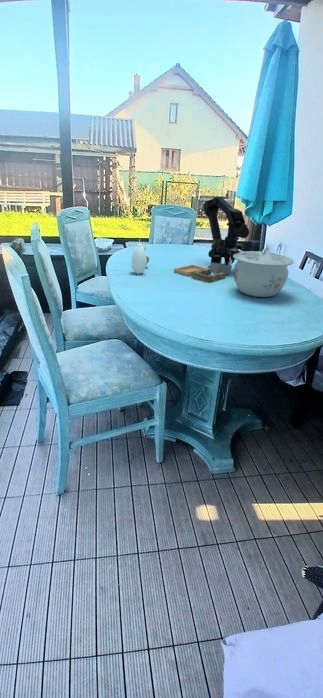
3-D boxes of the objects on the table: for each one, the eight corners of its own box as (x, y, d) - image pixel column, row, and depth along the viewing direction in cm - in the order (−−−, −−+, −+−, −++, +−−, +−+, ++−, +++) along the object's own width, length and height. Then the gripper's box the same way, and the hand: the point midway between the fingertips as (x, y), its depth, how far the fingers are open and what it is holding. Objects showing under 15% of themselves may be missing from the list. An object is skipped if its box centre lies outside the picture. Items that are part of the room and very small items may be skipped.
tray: (192, 268, 220) (192, 264, 219) (206, 271, 214) (206, 268, 213) (173, 272, 208) (174, 268, 208) (188, 276, 203) (188, 272, 202)
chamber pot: (244, 303, 165) (251, 255, 157) (219, 285, 189) (224, 243, 180) (299, 301, 173) (309, 255, 164) (269, 284, 197) (276, 243, 188)
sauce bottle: (139, 276, 198) (140, 240, 190) (128, 273, 202) (128, 238, 194) (149, 273, 203) (150, 239, 196) (137, 271, 207) (138, 237, 200)
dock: (207, 273, 210) (208, 268, 209) (225, 278, 203) (225, 272, 202) (191, 278, 200) (191, 272, 198) (209, 282, 193) (209, 277, 192)
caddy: (221, 272, 214) (225, 258, 212) (230, 274, 211) (233, 260, 209) (209, 271, 206) (212, 256, 203) (217, 273, 202) (220, 258, 200)
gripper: (229, 231, 217) (226, 259, 223) (210, 234, 204) (207, 263, 210) (246, 234, 210) (242, 263, 217) (228, 237, 197) (224, 267, 204)
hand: (229, 264), depth 212 cm, fingers open, 5 cm apart
